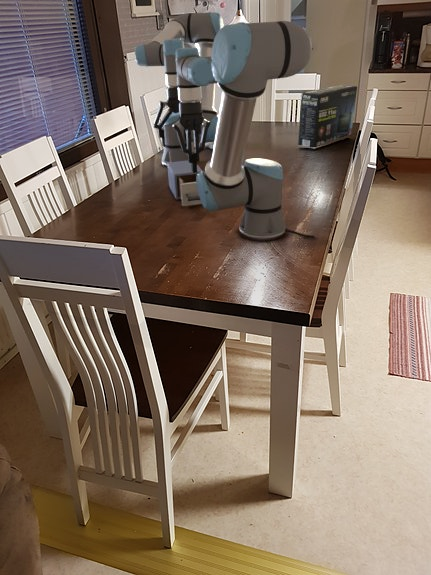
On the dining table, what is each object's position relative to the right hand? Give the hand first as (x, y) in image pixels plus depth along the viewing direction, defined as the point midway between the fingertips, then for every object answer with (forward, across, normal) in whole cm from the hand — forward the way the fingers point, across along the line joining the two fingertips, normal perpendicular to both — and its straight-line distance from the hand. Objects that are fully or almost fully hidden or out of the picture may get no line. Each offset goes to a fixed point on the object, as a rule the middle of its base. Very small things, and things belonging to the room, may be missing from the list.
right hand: (194, 171), depth 163 cm
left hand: (-4, 0, -25) cm, 25 cm away
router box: (+14, -86, -69) cm, 111 cm away
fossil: (+14, -30, -83) cm, 90 cm away
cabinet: (+14, 0, -20) cm, 25 cm away
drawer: (+13, 0, -6) cm, 14 cm away
